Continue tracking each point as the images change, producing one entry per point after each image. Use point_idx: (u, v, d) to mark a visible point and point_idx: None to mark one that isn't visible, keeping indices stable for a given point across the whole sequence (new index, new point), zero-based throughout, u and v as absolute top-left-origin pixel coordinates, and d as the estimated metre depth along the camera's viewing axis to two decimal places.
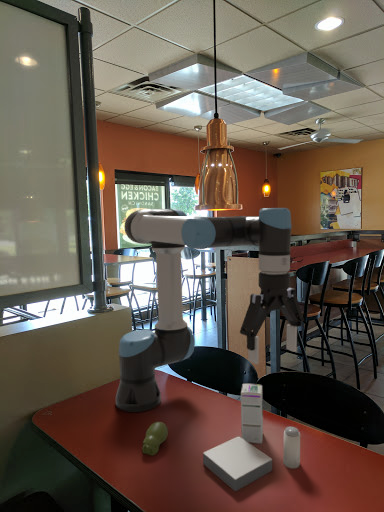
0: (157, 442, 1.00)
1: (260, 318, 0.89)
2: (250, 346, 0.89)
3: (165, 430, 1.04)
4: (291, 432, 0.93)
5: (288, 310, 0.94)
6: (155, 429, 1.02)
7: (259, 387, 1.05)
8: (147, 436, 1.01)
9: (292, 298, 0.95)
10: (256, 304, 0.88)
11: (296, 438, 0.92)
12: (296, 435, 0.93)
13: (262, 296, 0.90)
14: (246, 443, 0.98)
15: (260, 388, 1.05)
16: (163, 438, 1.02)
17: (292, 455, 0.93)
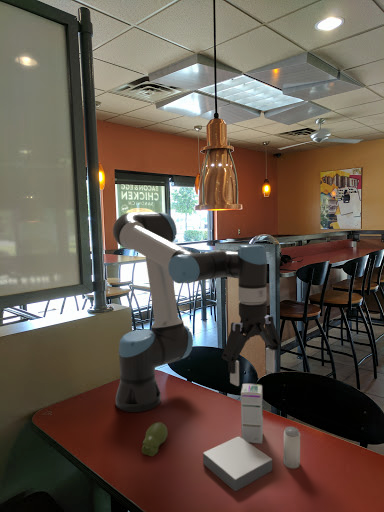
0: (156, 443, 1.00)
1: (240, 344, 0.99)
2: (231, 370, 0.99)
3: (165, 431, 1.03)
4: (291, 432, 0.93)
5: (266, 336, 1.05)
6: (154, 430, 1.02)
7: (259, 387, 1.05)
8: (147, 437, 1.01)
9: (270, 324, 1.06)
10: (236, 332, 0.98)
11: (296, 438, 0.92)
12: (296, 435, 0.93)
13: (241, 324, 1.00)
14: (246, 443, 0.98)
15: (260, 388, 1.05)
16: (163, 439, 1.02)
17: (292, 455, 0.93)
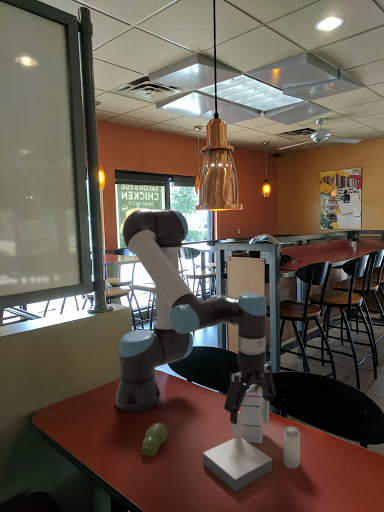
0: (156, 443, 0.99)
1: (240, 395, 1.01)
2: (233, 420, 1.01)
3: (164, 431, 1.03)
4: (291, 432, 0.93)
5: (263, 385, 1.06)
6: (154, 430, 1.02)
7: (258, 387, 1.05)
8: (146, 437, 1.01)
9: (267, 373, 1.07)
10: (235, 384, 1.00)
11: (296, 438, 0.92)
12: (296, 435, 0.93)
13: (240, 374, 1.01)
14: (246, 443, 0.98)
15: (260, 388, 1.05)
16: (162, 439, 1.02)
17: (292, 455, 0.93)
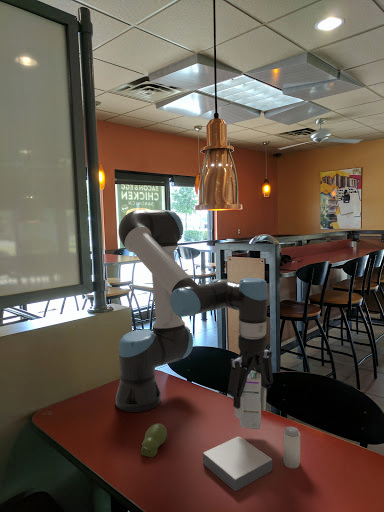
0: (155, 444, 0.99)
1: (242, 380, 1.02)
2: (236, 405, 1.02)
3: (164, 432, 1.03)
4: (291, 432, 0.93)
5: (261, 371, 1.05)
6: (153, 431, 1.02)
7: (257, 374, 1.05)
8: (146, 438, 1.00)
9: (267, 359, 1.07)
10: (236, 369, 1.00)
11: (296, 438, 0.92)
12: (296, 435, 0.93)
13: (240, 359, 1.01)
14: (246, 443, 0.98)
15: (259, 375, 1.05)
16: (162, 440, 1.01)
17: (292, 455, 0.93)
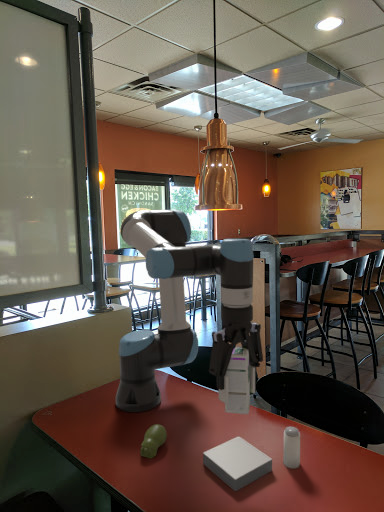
0: (155, 445, 0.99)
1: (226, 356, 0.88)
2: (219, 386, 0.88)
3: (164, 433, 1.02)
4: (291, 432, 0.93)
5: (249, 346, 0.91)
6: (153, 432, 1.01)
7: (244, 350, 0.91)
8: (145, 439, 1.00)
9: (255, 333, 0.93)
10: (218, 343, 0.86)
11: (296, 438, 0.92)
12: (296, 435, 0.93)
13: (223, 332, 0.87)
14: (246, 443, 0.98)
15: (246, 350, 0.91)
16: (161, 441, 1.01)
17: (292, 455, 0.93)
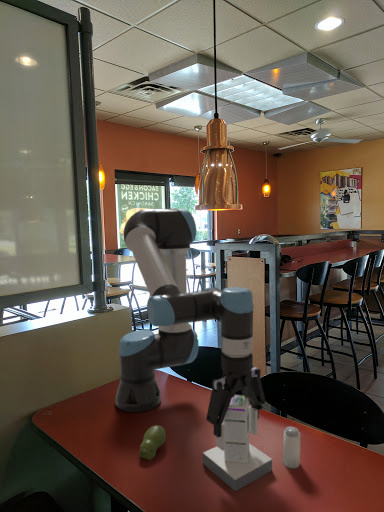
0: (154, 446, 0.98)
1: (224, 404, 0.88)
2: (216, 433, 0.88)
3: (163, 434, 1.02)
4: (291, 432, 0.93)
5: (250, 392, 0.93)
6: (152, 433, 1.01)
7: (244, 399, 0.92)
8: (144, 440, 1.00)
9: (255, 378, 0.94)
10: (218, 391, 0.87)
11: (296, 438, 0.92)
12: (296, 435, 0.93)
13: (224, 380, 0.88)
14: None
15: (246, 400, 0.92)
16: (161, 442, 1.00)
17: (292, 455, 0.93)
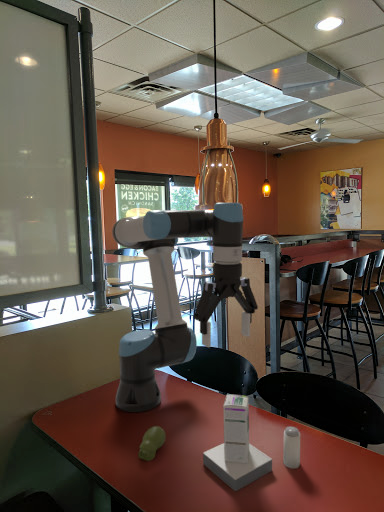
0: (153, 447, 0.98)
1: (212, 305, 0.96)
2: (202, 330, 0.96)
3: (162, 435, 1.01)
4: (291, 432, 0.93)
5: (241, 298, 1.01)
6: (152, 434, 1.00)
7: (244, 399, 0.92)
8: (144, 441, 0.99)
9: (246, 287, 1.02)
10: (208, 292, 0.95)
11: (296, 438, 0.92)
12: (296, 435, 0.93)
13: (215, 284, 0.96)
14: None
15: (246, 400, 0.92)
16: (160, 443, 1.00)
17: (292, 455, 0.93)
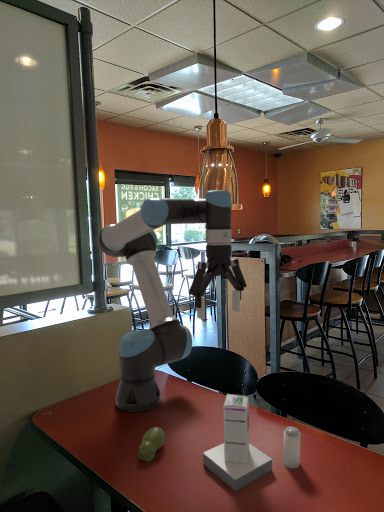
0: (153, 448, 0.97)
1: (206, 281, 1.08)
2: (197, 304, 1.07)
3: (162, 436, 1.01)
4: (291, 432, 0.93)
5: (231, 276, 1.13)
6: (151, 435, 1.00)
7: (244, 399, 0.92)
8: (143, 442, 0.99)
9: (235, 267, 1.14)
10: (202, 269, 1.07)
11: (296, 438, 0.92)
12: (296, 435, 0.93)
13: (207, 263, 1.08)
14: None
15: (246, 400, 0.92)
16: (160, 444, 0.99)
17: (292, 455, 0.93)
